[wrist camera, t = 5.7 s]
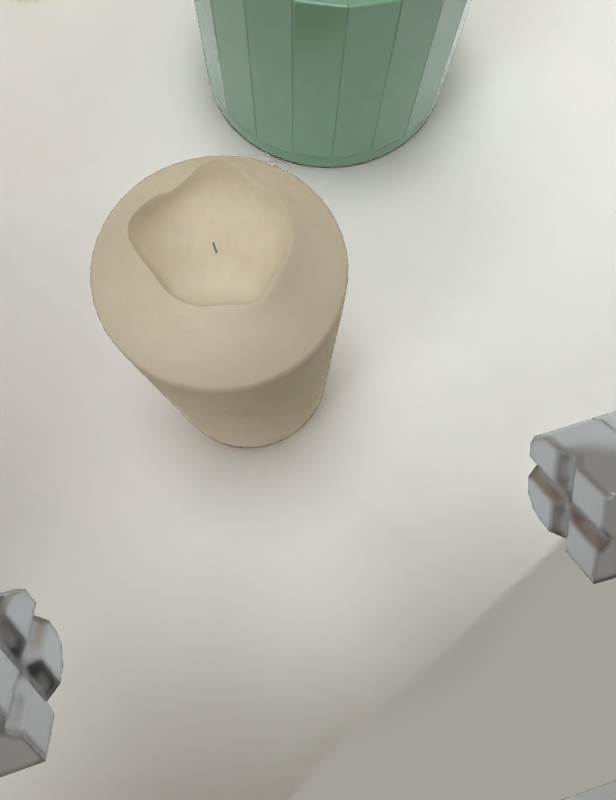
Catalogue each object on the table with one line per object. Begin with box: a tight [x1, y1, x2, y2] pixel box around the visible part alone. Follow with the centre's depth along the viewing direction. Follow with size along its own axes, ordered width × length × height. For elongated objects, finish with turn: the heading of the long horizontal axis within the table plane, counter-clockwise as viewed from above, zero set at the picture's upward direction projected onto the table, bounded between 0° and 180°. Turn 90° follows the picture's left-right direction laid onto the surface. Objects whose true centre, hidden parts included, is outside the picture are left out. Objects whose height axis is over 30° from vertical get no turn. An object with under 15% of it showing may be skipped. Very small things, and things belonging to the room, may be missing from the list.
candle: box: [91, 156, 348, 447], centre depth 15 cm, size 6×6×10 cm
